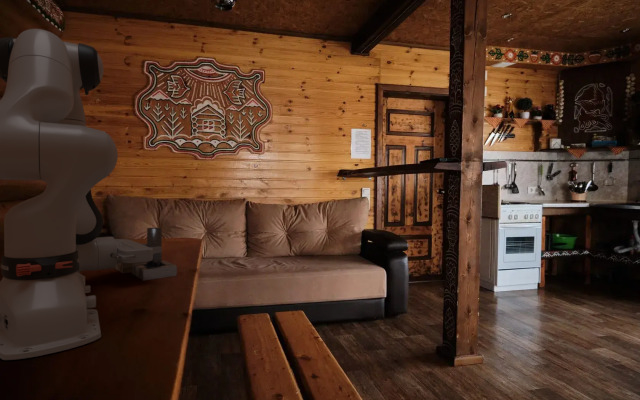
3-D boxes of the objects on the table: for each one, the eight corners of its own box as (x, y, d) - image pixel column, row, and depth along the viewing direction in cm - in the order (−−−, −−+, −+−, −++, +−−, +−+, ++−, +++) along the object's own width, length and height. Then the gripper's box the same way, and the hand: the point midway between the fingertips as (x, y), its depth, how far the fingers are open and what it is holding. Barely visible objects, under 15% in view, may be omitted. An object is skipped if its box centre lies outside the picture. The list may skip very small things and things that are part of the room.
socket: (176, 275, 115) (176, 265, 115) (143, 280, 108) (143, 270, 108) (164, 269, 122) (164, 260, 122) (131, 274, 115) (131, 264, 115)
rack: (153, 269, 122) (153, 256, 122) (122, 273, 116) (122, 260, 116) (143, 264, 129) (143, 252, 129) (114, 268, 123) (113, 255, 122)
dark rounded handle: (163, 275, 115) (163, 228, 114) (149, 277, 112) (150, 229, 112) (158, 272, 118) (158, 227, 117) (144, 274, 115) (145, 228, 115)
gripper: (117, 246, 98) (171, 241, 108) (96, 237, 113) (145, 233, 123) (117, 271, 98) (171, 264, 108) (96, 258, 113) (145, 253, 123)
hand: (157, 247), depth 115 cm, fingers closed on dark rounded handle, 4 cm apart
